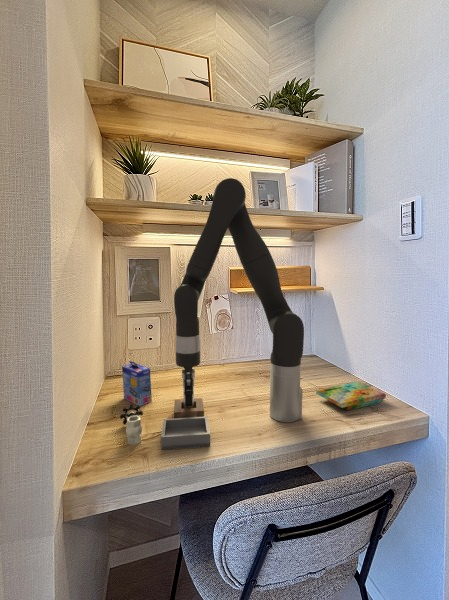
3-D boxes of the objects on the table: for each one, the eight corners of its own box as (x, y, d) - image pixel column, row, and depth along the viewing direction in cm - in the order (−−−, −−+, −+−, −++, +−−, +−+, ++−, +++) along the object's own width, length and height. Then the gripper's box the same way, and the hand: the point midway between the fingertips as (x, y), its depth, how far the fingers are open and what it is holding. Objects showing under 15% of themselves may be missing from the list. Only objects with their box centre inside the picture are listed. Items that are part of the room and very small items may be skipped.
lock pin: (193, 414, 98) (193, 384, 97) (194, 419, 95) (193, 388, 94) (183, 415, 98) (183, 384, 97) (183, 420, 95) (183, 388, 94)
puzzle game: (386, 391, 105) (340, 401, 98) (385, 404, 106) (340, 415, 98) (358, 379, 116) (316, 388, 108) (358, 391, 117) (315, 400, 109)
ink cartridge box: (122, 399, 110) (120, 359, 108) (135, 394, 114) (134, 356, 113) (138, 406, 104) (137, 365, 102) (152, 401, 108) (151, 361, 106)
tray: (207, 427, 90) (207, 416, 90) (210, 446, 80) (210, 433, 80) (163, 430, 88) (163, 419, 88) (161, 450, 79) (161, 437, 78)
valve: (147, 443, 82) (143, 422, 93) (147, 419, 82) (142, 401, 93) (121, 448, 80) (120, 426, 91) (120, 424, 79) (119, 405, 90)
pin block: (202, 409, 101) (202, 398, 101) (204, 423, 92) (204, 410, 92) (174, 411, 100) (174, 399, 100) (173, 425, 91) (173, 412, 91)
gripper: (201, 355, 88) (202, 413, 89) (199, 343, 102) (199, 393, 103) (174, 356, 87) (176, 414, 88) (176, 344, 101) (177, 394, 102)
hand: (188, 402), depth 96 cm, fingers closed on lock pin, 3 cm apart
